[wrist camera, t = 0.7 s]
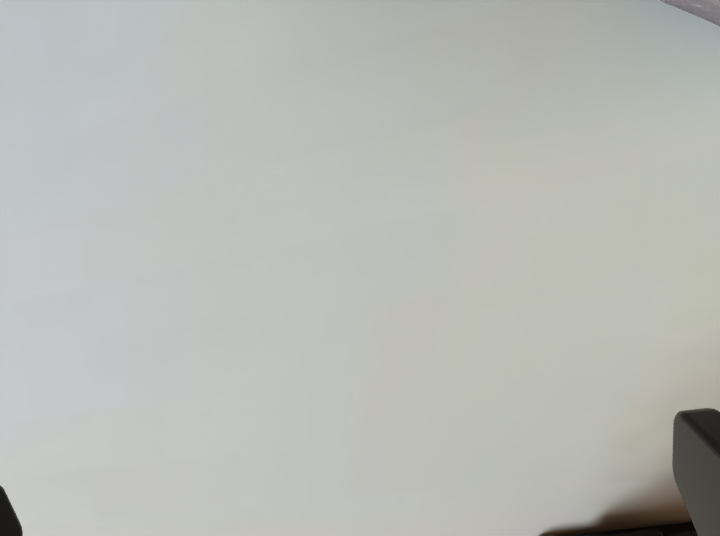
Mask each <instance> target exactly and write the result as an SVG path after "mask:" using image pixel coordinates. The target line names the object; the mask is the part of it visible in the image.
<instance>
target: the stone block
mask: <svg viewBox="0 0 720 536" xmlns="http://www.w3.org/2000/svg"><path fill="white" fill-rule="evenodd" d="M661 1H663V2H665V3H668V4H670V5H673V6H675V7H677V8H680V9H682V10H684V11H687V12H689V13H691V14H694V15H696V16H698V17H701V18H703V19H705V20H708V21H710V22H712V23H714V24H717V25H719V26H720V0H661Z"/></svg>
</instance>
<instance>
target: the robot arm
mask: <svg viewBox="0 0 720 536" xmlns="http://www.w3.org/2000/svg"><path fill="white" fill-rule="evenodd" d="M672 465H673V473H674V478H675V481H676V484H677V487H678V489H679V491H680V494H681V496H682V499H683V501H684V503H685V506H686V508H687V510H688V513H689V515H690V517H691V520H692V522H690V523H681V524H671V525H662V526H653V527H644V528H635V529H626V530H616V531H607V532H598V533H589V534H580V535H571V536H720V412H719V411H717V410H715V409H711V408H704V409H694V410H685V411H680V412H679V413H677V414H676V416H675V419H674V427H673V462H672ZM0 536H22V527H21V524H20V522H19V520H18V518H17V516H16V513H15V511H14V509H13V507H12V505H11V503H10V501H9V499H8V497H7V494H6V492H5V490H4V489H3V487H1V486H0Z"/></svg>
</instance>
